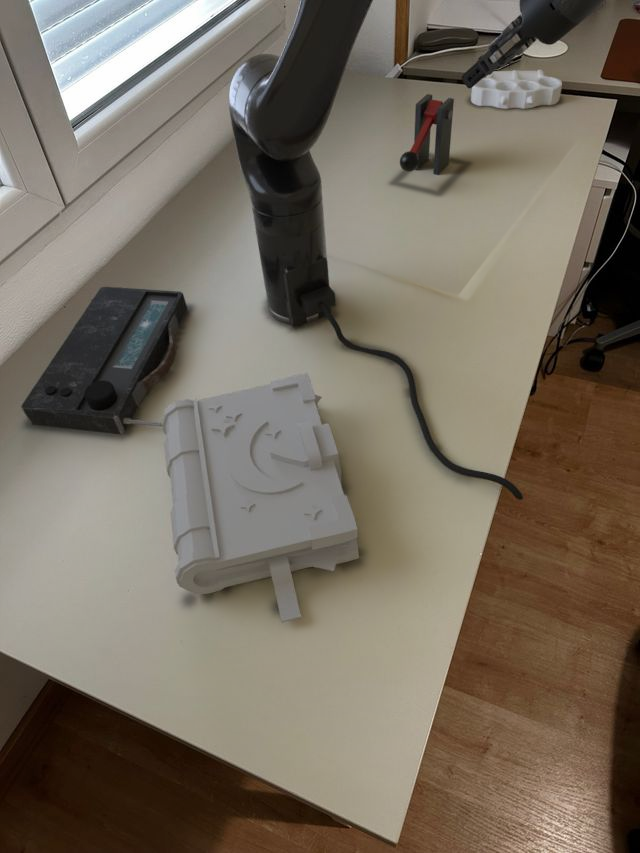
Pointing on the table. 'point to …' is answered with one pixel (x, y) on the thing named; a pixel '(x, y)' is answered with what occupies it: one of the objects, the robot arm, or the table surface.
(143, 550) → the table surface
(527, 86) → the white muffin tray
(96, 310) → the radio
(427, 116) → the lever
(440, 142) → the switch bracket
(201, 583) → the book
